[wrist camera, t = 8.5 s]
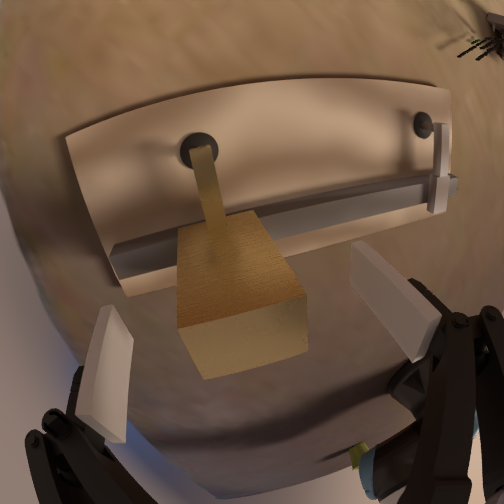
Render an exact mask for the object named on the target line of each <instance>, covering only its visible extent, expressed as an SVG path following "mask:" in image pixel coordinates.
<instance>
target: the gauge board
mask: <svg viewBox="0 0 504 504" xmlns="http://www.w3.org/2000/svg"><path fill="white" fill-rule="evenodd" d="M65 138H66V142H67V145H68V149H69V153H70V156H71V160H72V163H73V167H74V170H75V173H76V176H77V179H78V182H79V185H80V188H81V191H82V194H83V197H84V200H85V203H86V206H87V208H88V211H89V214H90V216H91V219H92V221H93V224H94V226H95V229H96V231H97V234H98V236H99V239H100V241H101V243H102V246H103V248H104V250H105V253H106V255H107V257H108V259H109V261H110V264H111V266H112V268H113V270H114V272H115V274H116V276H117V278H118V280H119V282H120V284H121V286H122V288H123V290H124V292H125V294H126V296H127V297H131V296H135V295H139V294H143V293H147V292H151V291H155V290H159V289H163V288H167V287H171V286H175V285H177V245H178V228H182V227H186V226H190V225H194V224H197V223H201V222H205V221H206V220H205V216H204V212H203V208H202V204H201V200H200V196H199V192H198V187H197V183H196V179H195V175H194V171H193V166H192V162H191V158H190V153H189V149H193V148H196V147H198V146H206V145H210V146H211V149H212V154H213V159H214V164H215V169H216V173H217V178H218V183H219V188H220V192H221V197H222V202H223V206H224V211H225V215H226V216H229V215H233V214H238V213H242V212H246V211H250V210H254V212H255V214H256V215H257V217H258V218H259V220H260V221H261V223H262V224H263V226H264V228H265V229H266V231H267V232H268V234H269V235H270V237H271V239H272V240H273V242H274V243H275V245H276V247H277V248H278V250H279V251H280V253H281V254H282V256H283V258H284V257H288V256H291V255H295V254H299V253H303V252H306V251H310V250H314V249H317V248H321V247H325V246H328V245H332V244H336V243H339V242H343V241H347V240H350V239H354V238H358V237H361V236H365V235H368V234H372V233H375V232H379V231H383V230H386V229H390V228H393V227H397V226H400V225H404V224H407V223H411V222H414V221H418V220H421V219H425V218H428V217H432V216H435V215H438V214H442V213H445V212H446V206H447V199H448V197H453V196H456V194H457V186H458V177H456V176H454V175H452V174H450V165H451V144H452V116H451V95H450V90H448V89H443V88H438V87H432V86H426V85H420V84H413V83H405V82H397V81H387V80H374V79H355V78H311V79H292V80H279V81H268V82H259V83H251V84H244V85H237V86H231V87H225V88H219V89H214V90H209V91H204V92H199V93H194V94H190V95H186V96H181V97H177V98H173V99H170V100H166V101H162V102H159V103H155V104H152V105H148V106H145V107H142V108H139V109H135V110H132V111H129V112H126V113H124V114H121V115H118V116H115V117H112V118H110V119H107V120H104V121H102V122H99V123H97V124H94V125H92V126H89V127H87V128H85V129H82V130H80V131H78V132H75V133H73V134H71V135H69V136H67V137H65Z"/></svg>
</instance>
